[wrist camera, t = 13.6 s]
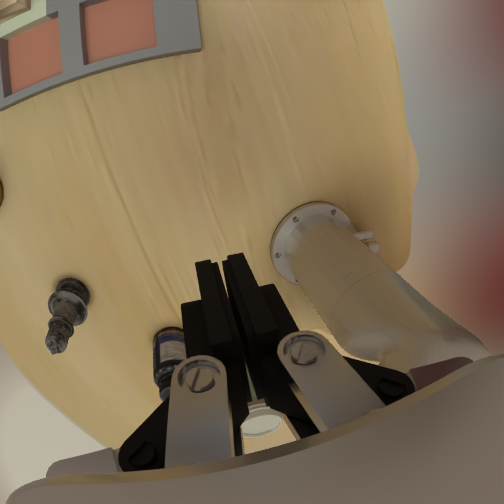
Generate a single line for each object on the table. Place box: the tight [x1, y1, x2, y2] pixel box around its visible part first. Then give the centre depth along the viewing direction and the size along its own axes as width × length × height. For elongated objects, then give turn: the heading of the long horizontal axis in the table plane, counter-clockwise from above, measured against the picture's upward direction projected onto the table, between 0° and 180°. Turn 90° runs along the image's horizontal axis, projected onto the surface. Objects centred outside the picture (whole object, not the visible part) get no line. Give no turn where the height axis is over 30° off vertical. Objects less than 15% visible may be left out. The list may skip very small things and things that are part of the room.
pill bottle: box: [153, 328, 187, 401], centre depth 41 cm, size 6×6×11 cm
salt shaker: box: [45, 278, 90, 355], centre depth 33 cm, size 6×6×12 cm
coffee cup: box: [241, 366, 283, 438], centre depth 49 cm, size 8×8×12 cm
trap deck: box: [0, 0, 202, 111], centre depth 20 cm, size 25×18×6 cm
